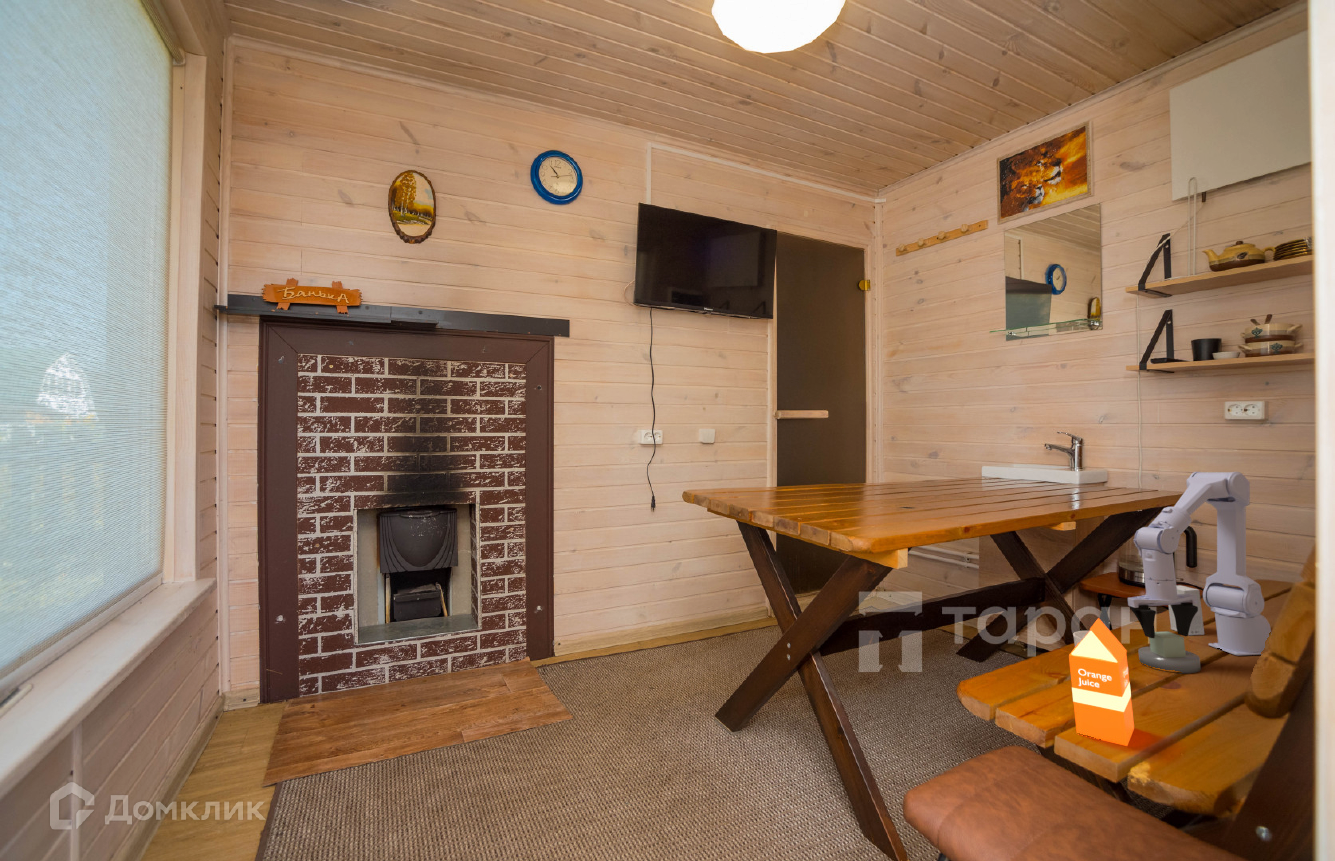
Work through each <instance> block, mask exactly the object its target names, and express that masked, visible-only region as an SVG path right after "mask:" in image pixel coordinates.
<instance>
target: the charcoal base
mask: <svg viewBox="0 0 1335 861" xmlns="http://www.w3.org/2000/svg"><path fill="white" fill-rule="evenodd" d="M1185 654H1186V657H1167V658H1165V657H1163V656H1161V655H1158V654H1156V653H1154V652H1152V651H1151V649H1150V645H1149V646H1143V647H1140V648H1138V659H1139V660H1140V661H1139V663H1140V662H1141V663H1143V664H1146V665H1148V666H1151V667H1155V668H1160V669H1165V670H1175V671H1180V672H1182V673H1181V674H1195V673H1198V672H1200V671H1201V670H1202V668H1201V658H1200V656H1199V655H1198V654H1196V653H1193V652H1191V651H1189V650H1185ZM1141 663H1140V664H1141ZM1143 664H1142V665H1143Z"/></svg>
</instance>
